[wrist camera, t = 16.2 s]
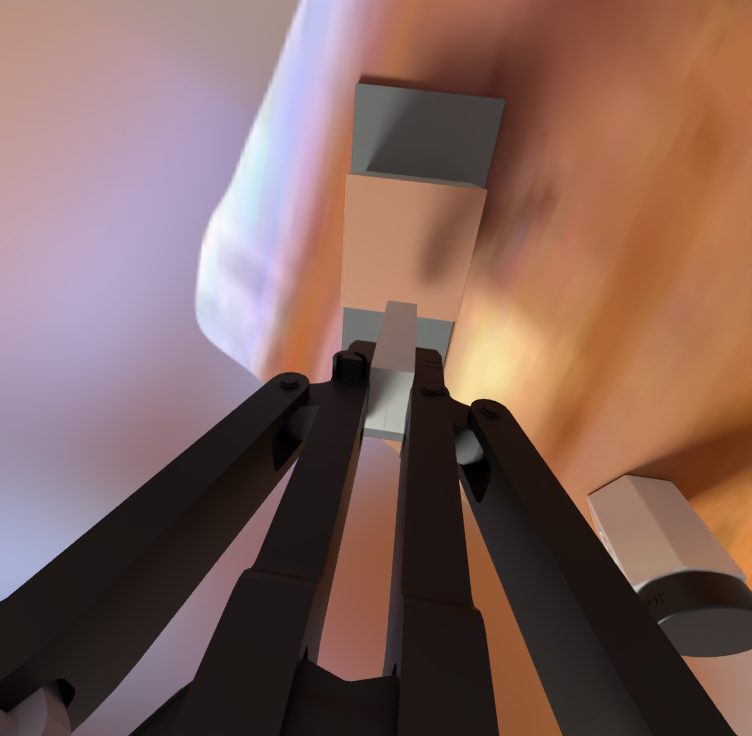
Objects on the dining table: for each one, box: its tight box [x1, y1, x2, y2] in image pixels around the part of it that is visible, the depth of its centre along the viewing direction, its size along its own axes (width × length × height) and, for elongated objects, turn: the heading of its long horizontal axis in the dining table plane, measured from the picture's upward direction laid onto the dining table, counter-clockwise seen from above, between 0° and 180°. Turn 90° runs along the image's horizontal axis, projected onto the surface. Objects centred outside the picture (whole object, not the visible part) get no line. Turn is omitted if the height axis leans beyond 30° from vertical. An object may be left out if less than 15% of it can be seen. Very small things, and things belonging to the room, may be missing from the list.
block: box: [340, 171, 488, 322], centre depth 22 cm, size 7×7×7 cm
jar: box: [587, 475, 752, 657], centre depth 31 cm, size 9×8×12 cm
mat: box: [342, 83, 506, 442], centre depth 28 cm, size 28×9×1 cm, turn 174°
